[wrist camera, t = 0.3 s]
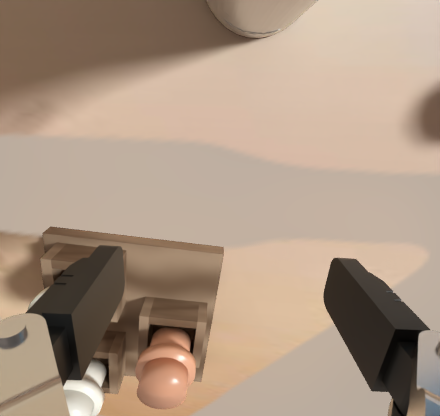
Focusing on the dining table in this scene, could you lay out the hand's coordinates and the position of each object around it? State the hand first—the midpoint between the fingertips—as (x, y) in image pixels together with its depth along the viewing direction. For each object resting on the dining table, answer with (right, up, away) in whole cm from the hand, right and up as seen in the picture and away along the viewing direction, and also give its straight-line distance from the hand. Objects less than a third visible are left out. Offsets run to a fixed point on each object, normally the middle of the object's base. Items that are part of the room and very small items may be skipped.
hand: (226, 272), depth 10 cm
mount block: (-11, -10, +24) cm, 28 cm away
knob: (-16, -17, +22) cm, 32 cm away
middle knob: (-6, -13, +20) cm, 24 cm away
